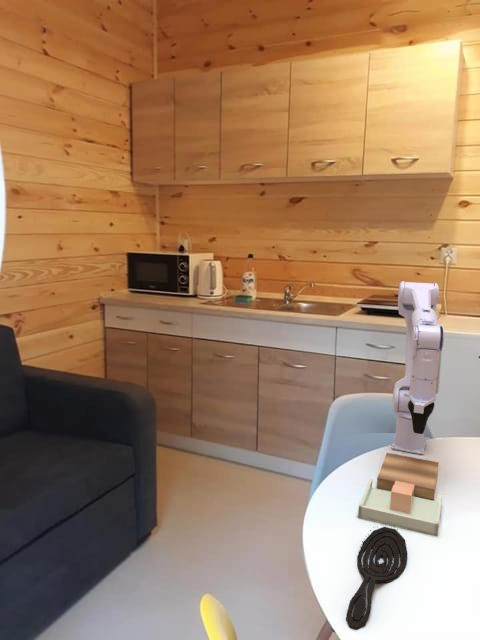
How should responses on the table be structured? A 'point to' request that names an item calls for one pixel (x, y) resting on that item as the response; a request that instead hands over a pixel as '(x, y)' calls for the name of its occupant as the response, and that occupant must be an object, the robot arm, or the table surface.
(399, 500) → the tile front
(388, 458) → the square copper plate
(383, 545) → the hairbrush
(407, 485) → the tile rear
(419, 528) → the tray
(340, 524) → the table surface
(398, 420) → the robot arm
